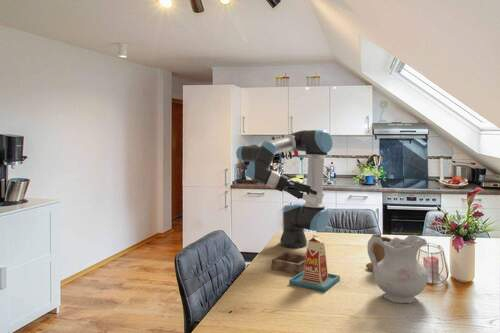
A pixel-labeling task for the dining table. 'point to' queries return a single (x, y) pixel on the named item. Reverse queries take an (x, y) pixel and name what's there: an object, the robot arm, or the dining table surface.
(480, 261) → the dining table surface
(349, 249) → the dining table surface
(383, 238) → the stone cup
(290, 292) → the dining table surface
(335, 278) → the tray
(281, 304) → the dining table surface
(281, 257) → the holder
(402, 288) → the ceramic pitcher
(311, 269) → the milk carton
